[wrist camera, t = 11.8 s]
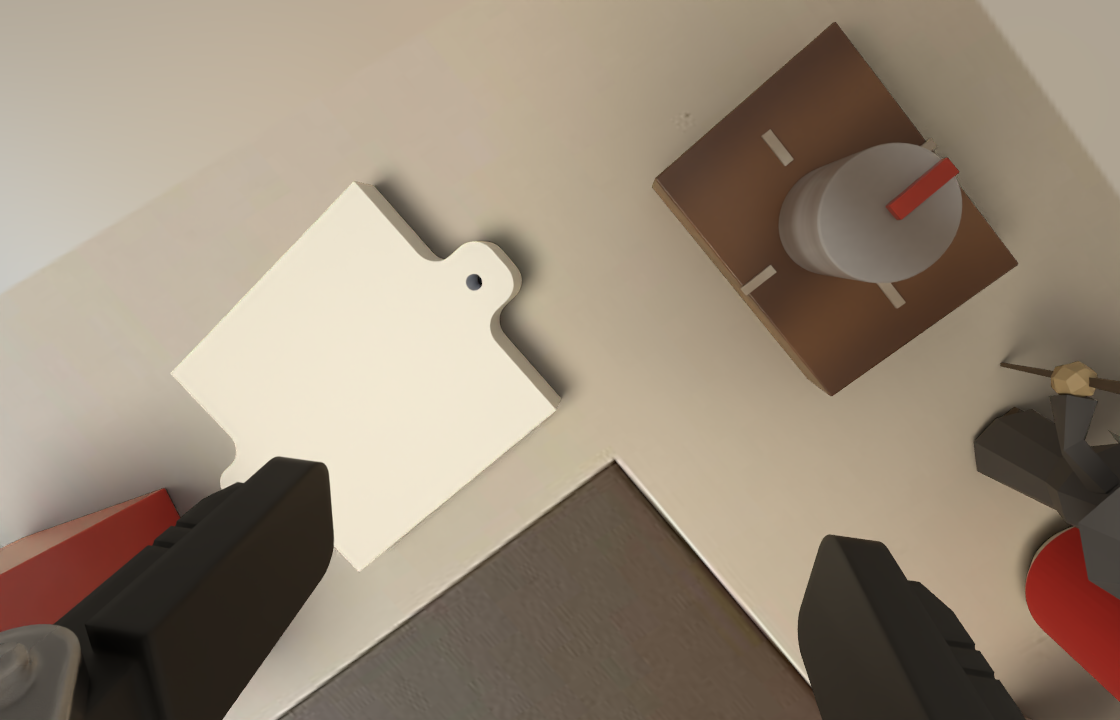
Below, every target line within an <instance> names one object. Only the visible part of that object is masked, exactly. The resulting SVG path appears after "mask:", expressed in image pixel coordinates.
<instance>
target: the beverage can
mask: <svg viewBox="0 0 1120 720" xmlns="http://www.w3.org/2000/svg"><path fill="white" fill-rule="evenodd" d="M1025 594H1026V601H1027V605H1028V608H1029V611H1030V613H1031V615H1032V617H1033V618H1034V620H1035V621H1036V623H1037V624H1038V625H1039V626H1040V627H1041V628H1042V629H1043V630H1044V631H1045V632H1046V633H1047V634H1048V635H1049V636H1050V637H1051V638H1052V639H1053V640H1054V641H1055V642H1056V643H1057V644H1058V645H1059V646H1061V647H1062V648H1063V649H1064V650H1065V651H1066V652H1067V653H1068V654H1069V655H1070V656H1071V657H1072V658H1073V659H1074V660H1076V661H1077V662H1078V663H1079V664H1080V665H1081V666H1082V667H1083V668H1084V669H1085V670H1086V671H1087V672H1088V673H1089V674H1090V675H1092V676H1093V677H1094V678H1095V679H1096V680H1097V681H1098V682H1099V683H1100V684H1101V685H1102V686H1103V687H1104V688H1105V689H1106V690H1108V691H1109V692H1110V693H1111V694H1112V695H1113V696H1114V697H1115V698H1116V699H1117V700H1118V701H1119V702H1120V600H1119V599H1118V598H1116V597H1115V596H1113V595H1111V594H1110V593H1108V592H1107V591H1105V590H1103V589H1102V588H1100V587H1099V586H1097V585H1096V584H1094V583H1092V582H1091V581H1089V580H1088V576H1087V570H1086V564H1085V559H1084V553H1083V548H1082V542H1081V536H1080V531H1079V529H1078V528H1076V527H1070V528H1067V529H1065V530H1063V531H1061V532H1059V533H1057V534H1055V535H1054V536H1052V537H1051V538H1049V539H1048V540H1047V541H1046V542H1045V543H1044V544H1043V545H1042V546H1041V547H1040V548H1039V549H1038V551H1037V552H1036V554H1035V556H1034V557H1033V560H1032V562H1031V565H1030V568H1029V571H1028V574H1027V578H1026V584H1025Z"/></svg>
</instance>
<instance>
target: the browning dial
mask: <svg viewBox="0 0 1120 720" xmlns="http://www.w3.org/2000/svg"><path fill="white" fill-rule="evenodd" d="M958 173H959V171H958V169H957V168H956V167H955V166H954V165H953V163H952V162H951V161H950V160H949V159H948V158H943V159H941V158H940V157H939V156H937V155H936V154H935V153H933V152H931V151H930V150H928V149H926V148H923V147H920V146H918V145H913V144H909V143H887V144H881V145H877V146H874V147H871V148H868V149H866V150H863V151H860V152H858V153H855V154H853V155H850V156H848V157H845V158H843V159H840V160H837V161H835V162H832V163H830V164H827V165H825V166H822V167H820V168H817V169H815V170H813V171H811V172H809V173H808V174H806V175H805V176H803V177H802V178H801V179H800V180H799V181H798V182H797V183H796V184H795V185H794V186H793V187H792V188H791V190H790V191H789V192H788V194H787V196H786V197H785V199H784V202H783V204H782V207H781V210H780V214H779V224H778V227H779V235H780V239H781V242H782V245H783V247H784V249H785V251H786V252H787V254H788V255H789V256H790V258H791V259H792V260H793V261H794V262H795V263H796V264H798V265H799V266H800V267H802V268H804V269H806V270H808V271H810V272H813V273H817V274H821V275H827V276H833V277H839V278H845V279H851V280H857V281H863V282H869V283H892V282H898V281H901V280H905V279H908V278H910V277H913V276H915V275H917V274H919V273H921V272H923V271H924V270H926V269H927V268H928V267H930V266H931V265H932V264H934V263H935V262H936V261H937V260H938V259H939V258H940V257H941V256H942V255H943V254H944V252H945V251H946V250H947V248H948V247H949V246H950V244H951V243H952V241H953V239H954V237H955V235H956V232H957V230H958V227H959V224H960V220H961V214H962V196H961V190H960V187H959V184H958V181H957V179H956V177H955V176H956V175H957V174H958Z"/></svg>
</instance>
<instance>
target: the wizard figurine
mask: <svg viewBox="0 0 1120 720" xmlns="http://www.w3.org/2000/svg"><path fill="white" fill-rule="evenodd" d="M1000 366H1002V367H1006V368H1011V369H1015V370H1019V371H1024V372H1028V373H1033V374H1037V375H1041V376H1046V377H1050V378H1051V387H1052V388H1053V389H1054V390H1055V391H1056V392H1057V393H1058V394H1059V395H1054V396H1049V397H1050V402H1051V406H1052V411H1053V416H1054V420H1055V423H1054V422H1052V421H1051V420H1049V419H1048V418H1046V417H1044V416H1043V415H1041V414H1040V413H1038V412H1036V411H1035V410H1033V409H1031V410H1027V411H1022V410H1020V409H1018V408H1015V407H1014V408H1013V409H1011V410H1010V411H1009V412H1008V413H1006V414H1005V415H1004V416H1002V417H1000V418H996V419H995V420H994V421H993V422H992V423H991V424H990V425H989V426H988V427H987V428H986V429H985V431H984V432H983V433H982V434H981V435H980V436H979V437H978V438H977V439H976V440H975V441H974V447H975V456H976V464H977V471H978V472H980V473H982V474H984V475H986V476H988V477H990V478H992V479H994V480H996V481H998V482H1000V483H1002V484H1004V485H1007V486H1009V487H1011V488H1013V489H1015V490H1017V491H1019V492H1021V493H1023V494H1025V495H1027V496H1029V497H1031V498H1033V499H1035V500H1037V501H1039V502H1041V503H1043V504H1045V505H1047V506H1049V507H1051V508H1053V509H1055V510H1057V511H1058V513H1059V514H1060V515H1061V516H1062V518H1063V519H1064V520H1065V522H1066V523H1068V524H1070V525H1072V526H1074V527H1076V528H1078V529H1079V531H1080V536H1081V542H1082V548H1083V553H1084V559H1085V564H1086V570H1087V576H1088V580H1089V581H1091V582H1092V583H1094V584H1096V585H1097V586H1099V587H1100V588H1102V589H1103V590H1105V591H1107V592H1108V593H1110V594H1111V595H1113V596H1115V597H1116V598H1118V599H1119V600H1120V436H1118V435H1117V434H1115V433H1113V432H1111V431H1109V430H1108V431H1109V432H1110V433H1111V434H1112V435H1113V437H1114V438H1115V439H1116V440H1117V441H1118V444H1109V445H1100V446H1091V447H1090V446H1089V445H1088V444H1087V443H1086V442H1085V438H1086V435H1087V432H1088V429H1089V426H1090V423H1091V420H1092V417H1093V414H1094V411H1095V408H1096V405H1097V402H1098V401H1097V400H1094V399H1092V398H1090V397H1087V396H1091V395H1093V394H1094V391H1095V389H1096V388H1097V389H1101V390H1105V391H1109V392H1113V393H1117V394H1120V381H1115V380H1108V379H1101V378H1097V373H1095V372H1094V371H1093V370H1092V369H1091V368H1089V367H1088V366H1086V365H1084V364H1083V363H1081V362H1079V361H1076V362H1073V363H1070V364H1066V365H1061V366H1056V367H1055V369H1054V371H1051V370H1045V369H1039V368H1032V367H1026V366H1020V365H1014V364H1008V363H1001V365H1000Z"/></svg>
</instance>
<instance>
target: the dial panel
mask: <svg viewBox="0 0 1120 720" xmlns="http://www.w3.org/2000/svg"><path fill="white" fill-rule="evenodd" d="M887 143H909V144H913V145H918V146H920V147H923V148H926V149H928V150H930V151H931V152H933V153H934V151H933V149H935V148H936V147H937V145H936V143H935V142H934V141H933V139H932V138H931V139H929V140H928V141H925V139H924V138H923V137H922V135H921V134H920V133H919V131H918V130H917V129H916V127H915V126H914V125H913V123H912V122H911V121H910V119H909V118H908V117H907V116H906V114H905V113H904V112H903V110H902V109H901V108H900V106H899V105H898V104H897V102H896V101H895V100H894V98H893V97H892V96H891V94H890V93H889V92H888V90H887V89H886V88H885V86H884V85H883V84H882V82H881V81H880V80H879V79H878V77H877V76H876V75H875V73H874V72H873V71H872V69H871V68H870V67H869V65H868V64H867V63H866V61H865V60H864V59H863V57H862V56H861V55H860V53H859V52H858V51H857V49H856V48H855V47H854V45H853V44H852V43H851V42H850V40H849V39H848V38H847V36H846V35H845V34H844V32H843V31H842V30H841V28H840V27H839V26H838V24H837V23H836V22H834V23H832V24H831V25H830V26H829V27H828V28H827V29H825V30H824V31H823V32H822V33H821V34H820V35H819V36H817V37H816V38H815V39H814V40H813V41H812V42H811V43H809V44H808V45H807V46H806V47H805V48H804V49H803V50H801V51H800V52H799V53H798V54H797V55H796V56H794V57H793V58H792V59H791V60H790V61H789V62H788V63H786V64H785V65H784V66H783V67H782V68H781V69H780V70H778V71H777V72H776V73H775V74H774V75H773V76H772V77H770V78H769V79H768V80H767V81H766V82H765V83H764V84H762V85H761V86H760V87H759V88H758V89H757V90H756V91H754V92H753V93H752V94H751V95H750V96H749V97H748V98H746V99H745V100H744V101H743V102H742V103H741V104H740V105H738V106H737V107H736V108H735V109H734V110H733V111H732V112H730V113H729V114H728V115H727V116H726V117H725V118H724V119H722V120H721V121H720V122H719V123H718V124H717V125H716V126H714V127H713V128H712V129H711V130H710V131H709V132H708V133H706V134H705V135H704V136H703V137H702V138H701V139H699V140H698V141H697V142H696V143H695V144H694V145H693V146H691V147H690V148H689V149H688V150H687V151H686V152H685V153H683V154H682V155H681V156H680V157H679V158H678V159H677V160H675V161H674V162H673V163H672V164H671V165H670V166H669V167H667V168H666V169H665V170H664V171H663V172H662V173H661V174H659V175H658V176H657V177H656V178H655V181H654V183H653V185H652V188H653V189H654V190H655V191H656V193H657V194H658V195H659V196H660V198H661V199H662V200H663V201H664V202H665V204H666V205H667V206H668V207H669V209H670V210H671V211H672V212H673V214H674V215H675V216H676V217H677V218H678V220H679V221H680V222H681V223H682V225H683V226H684V227H685V228H686V230H687V231H688V232H689V233H690V234H691V236H692V237H693V238H694V239H695V241H696V242H697V243H698V244H699V246H700V247H701V248H702V249H703V251H704V252H705V253H706V254H707V255H708V257H709V258H710V259H711V260H712V262H713V263H714V264H715V265H716V267H717V268H718V269H719V270H720V271H721V273H722V274H723V275H724V276H725V278H726V279H727V280H728V281H729V283H730V284H731V285H732V286H733V287H734V289H735V290H736V291H737V292H738V294H739V295H740V296H741V297H742V299H743V300H744V301H745V302H746V303H747V305H748V306H749V307H750V308H751V310H752V311H753V312H754V313H755V315H756V316H757V317H758V318H759V320H760V321H761V322H762V323H763V324H764V326H765V327H766V328H767V329H768V331H769V332H770V333H771V334H772V336H773V337H774V338H775V339H776V340H777V342H778V343H779V344H780V345H781V347H782V348H783V349H784V350H785V352H786V353H787V354H788V355H789V356H790V358H791V359H792V360H793V361H794V363H795V364H796V365H797V366H798V368H799V369H800V370H801V371H802V373H803V374H804V375H805V376H806V377H807V379H809V380H810V381H811V382H812V383H814V384H815V385H816V386H818V387H819V388H820V389H822V390H823V391H824V392H826V393H827V394H828V395H830V396H833V395H834V394H836V393H837V392H839V391H840V390H842V389H843V388H844V387H846V386H847V385H849V384H850V383H851V382H853V381H854V380H856V379H857V378H858V377H860V376H861V375H863V374H864V373H866V372H867V371H868V370H870V369H871V368H873V367H874V366H875V365H877V364H878V363H880V362H881V361H883V360H884V359H885V358H887V357H888V356H890V355H891V354H892V353H894V352H895V351H897V350H898V349H899V348H901V347H902V346H904V345H905V344H907V343H908V342H909V341H911V340H912V339H914V338H915V337H916V336H918V335H919V334H921V333H922V332H923V331H925V330H926V329H928V328H929V327H931V326H932V325H933V324H935V323H936V322H938V321H939V320H940V319H942V318H943V317H945V316H946V315H948V314H949V313H950V312H952V311H953V310H955V309H956V308H957V307H959V306H960V305H962V304H963V303H964V302H966V301H967V300H969V299H970V298H972V297H973V296H974V295H976V294H977V293H979V292H980V291H981V290H983V289H984V288H986V287H987V286H988V285H990V284H991V283H993V282H994V281H996V280H997V279H998V278H1000V277H1001V276H1003V275H1004V274H1005V273H1007V272H1008V271H1010V270H1011V269H1012V268H1014V267H1015V266H1017V265H1018V262H1017V261H1016V260H1015V258H1014V257H1013V256H1012V254H1011V253H1010V252H1009V250H1008V249H1007V248H1006V246H1005V245H1004V244H1003V242H1002V241H1001V240H1000V238H999V237H998V236H997V234H996V233H995V232H994V230H993V229H992V228H991V226H990V225H989V224H988V223H987V221H986V220H985V219H984V217H983V216H982V215H981V213H980V212H979V211H978V209H977V208H976V207H975V205H974V204H973V203H972V201H971V200H970V199H969V197H968V196H967V195H966V193H965V192H964V191H963V189H962V188H961V187H960V186H959V187H960V190H961V196H962V214H961V220H960V224H959V227H958V230H957V232H956V235H955V237H954V239H953V241H952V243H951V244H950V246H949V247H948V248H947V250H946V251H945V252H944V254H943V255H942V256H941V257H940V258H939V259H938V260H937V261H936V262H935V263H934V264H932V265H931V266H930V267H928V268H927V269H926V270H924V271H923V272H921V273H919V274H917V275H915V276H913V277H910V278H908V279H905V280H901V281H898V282H892V283H869V282H863V281H857V280H851V279H845V278H839V277H833V276H827V275H821V274H817V273H813V272H810V271H808V270H806V269H804V268H802V267H800V266H799V265H798V264H796V263H795V262H794V261H793V260H792V259H791V258H790V256H789V255H788V254H787V252H786V251H785V249H784V247H783V245H782V242H781V239H780V235H779V227H778V224H779V214H780V210H781V207H782V204H783V202H784V199H785V197H786V196H787V194H788V192H789V191H790V190H791V188H792V187H793V186H794V185H795V184H796V183H797V182H798V181H799V180H800V179H801V178H802V177H803V176H805V175H806V174H808V173H809V172H811V171H813V170H815V169H817V168H820V167H822V166H825V165H827V164H830V163H832V162H835V161H837V160H840V159H843V158H845V157H848V156H850V155H853V154H855V153H858V152H860V151H863V150H866V149H868V148H871V147H874V146H877V145H881V144H887Z"/></svg>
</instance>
